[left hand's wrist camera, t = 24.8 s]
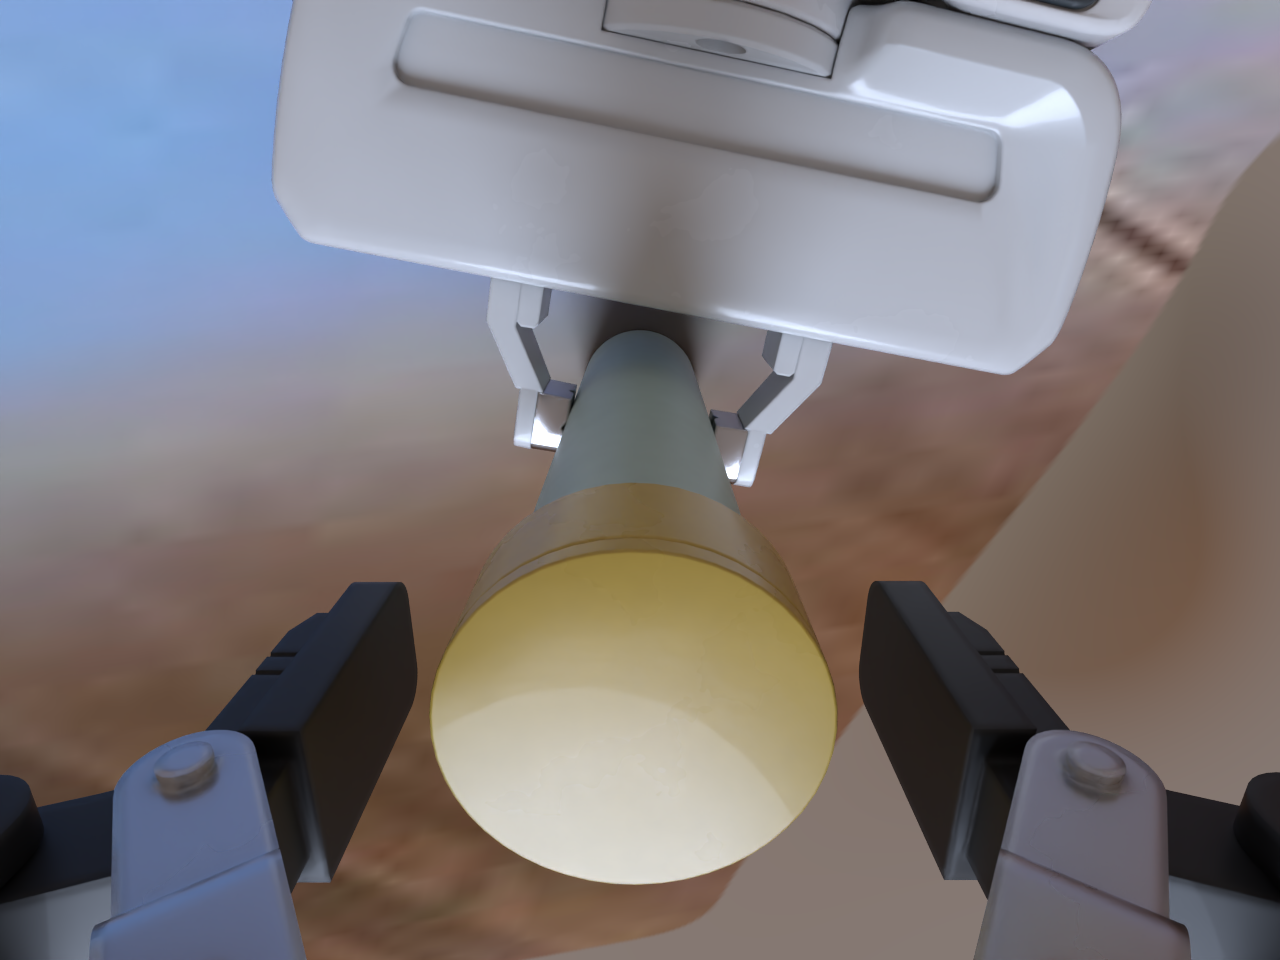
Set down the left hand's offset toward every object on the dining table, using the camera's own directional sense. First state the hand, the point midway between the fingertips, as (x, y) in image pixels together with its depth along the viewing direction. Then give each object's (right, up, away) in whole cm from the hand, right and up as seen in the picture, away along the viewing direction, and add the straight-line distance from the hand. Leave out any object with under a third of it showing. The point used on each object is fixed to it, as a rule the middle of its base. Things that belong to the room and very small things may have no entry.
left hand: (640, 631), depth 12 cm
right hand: (0, +3, +10) cm, 10 cm away
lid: (0, -1, -2) cm, 2 cm away
